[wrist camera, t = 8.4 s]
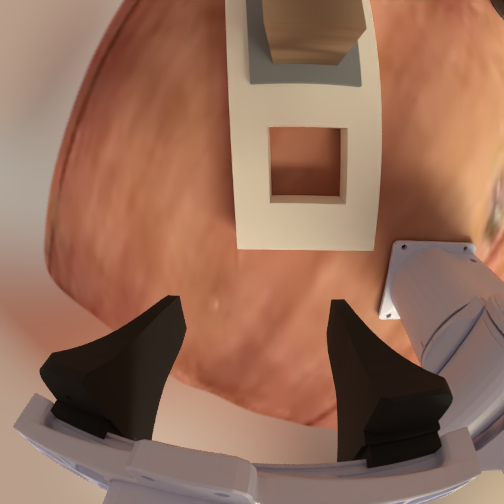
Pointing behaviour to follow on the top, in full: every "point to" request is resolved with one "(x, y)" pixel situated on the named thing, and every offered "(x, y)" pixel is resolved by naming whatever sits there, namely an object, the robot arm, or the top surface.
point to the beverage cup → (499, 6)
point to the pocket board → (303, 115)
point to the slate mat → (293, 73)
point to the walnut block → (312, 30)
